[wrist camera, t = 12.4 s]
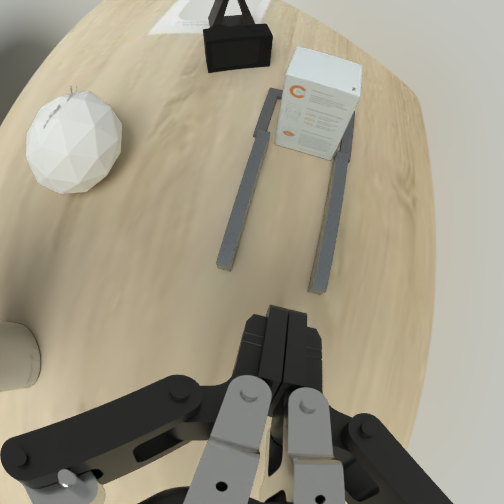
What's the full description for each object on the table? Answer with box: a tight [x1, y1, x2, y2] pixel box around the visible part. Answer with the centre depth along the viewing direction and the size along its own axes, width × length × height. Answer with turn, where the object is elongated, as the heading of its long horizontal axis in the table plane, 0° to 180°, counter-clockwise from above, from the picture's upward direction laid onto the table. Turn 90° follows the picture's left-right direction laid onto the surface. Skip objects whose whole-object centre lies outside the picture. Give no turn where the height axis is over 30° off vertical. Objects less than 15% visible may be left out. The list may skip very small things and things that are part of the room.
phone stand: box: [208, 0, 255, 27], centre depth 41 cm, size 9×6×12 cm, turn 100°
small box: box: [275, 46, 363, 160], centre depth 33 cm, size 8×6×13 cm
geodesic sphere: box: [26, 86, 122, 194], centre depth 31 cm, size 14×14×14 cm
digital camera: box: [203, 24, 273, 73], centre depth 40 cm, size 10×5×7 cm, turn 101°
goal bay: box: [253, 88, 355, 163], centre depth 39 cm, size 14×10×1 cm
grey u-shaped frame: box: [216, 130, 349, 295], centre depth 35 cm, size 12×18×2 cm, turn 165°
